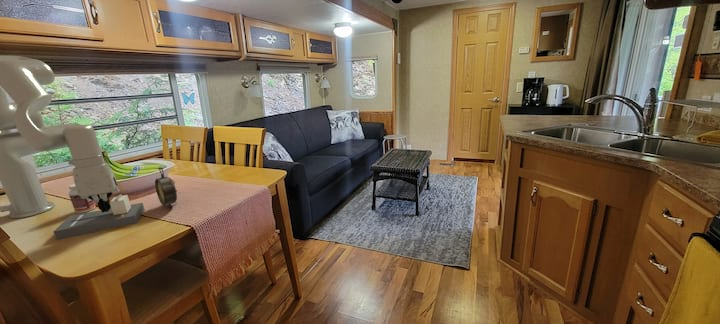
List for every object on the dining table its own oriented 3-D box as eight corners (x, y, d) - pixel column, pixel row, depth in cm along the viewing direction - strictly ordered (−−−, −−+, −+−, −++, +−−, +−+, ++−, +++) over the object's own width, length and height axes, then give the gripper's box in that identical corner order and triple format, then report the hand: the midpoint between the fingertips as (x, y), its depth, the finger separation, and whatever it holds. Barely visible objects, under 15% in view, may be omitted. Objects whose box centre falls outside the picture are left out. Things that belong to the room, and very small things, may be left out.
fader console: (56, 239, 96) (53, 231, 96) (72, 223, 107) (69, 215, 106) (136, 223, 105) (134, 215, 104) (144, 209, 115) (142, 202, 114)
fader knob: (113, 215, 104) (108, 200, 103) (118, 209, 109) (113, 195, 107) (127, 212, 106) (122, 198, 104) (131, 207, 110) (126, 193, 108)
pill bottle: (94, 210, 117) (85, 184, 113) (74, 215, 113) (63, 188, 110) (97, 205, 122) (88, 180, 118) (77, 209, 118) (67, 184, 115)
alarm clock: (159, 204, 120) (148, 166, 115) (173, 199, 123) (164, 162, 118) (167, 212, 112) (156, 172, 107) (182, 206, 116) (172, 168, 111)
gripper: (55, 168, 93) (75, 220, 99) (113, 161, 99) (128, 210, 105) (66, 162, 100) (84, 211, 106) (119, 155, 106) (134, 202, 111)
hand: (106, 210), depth 105 cm, fingers closed
